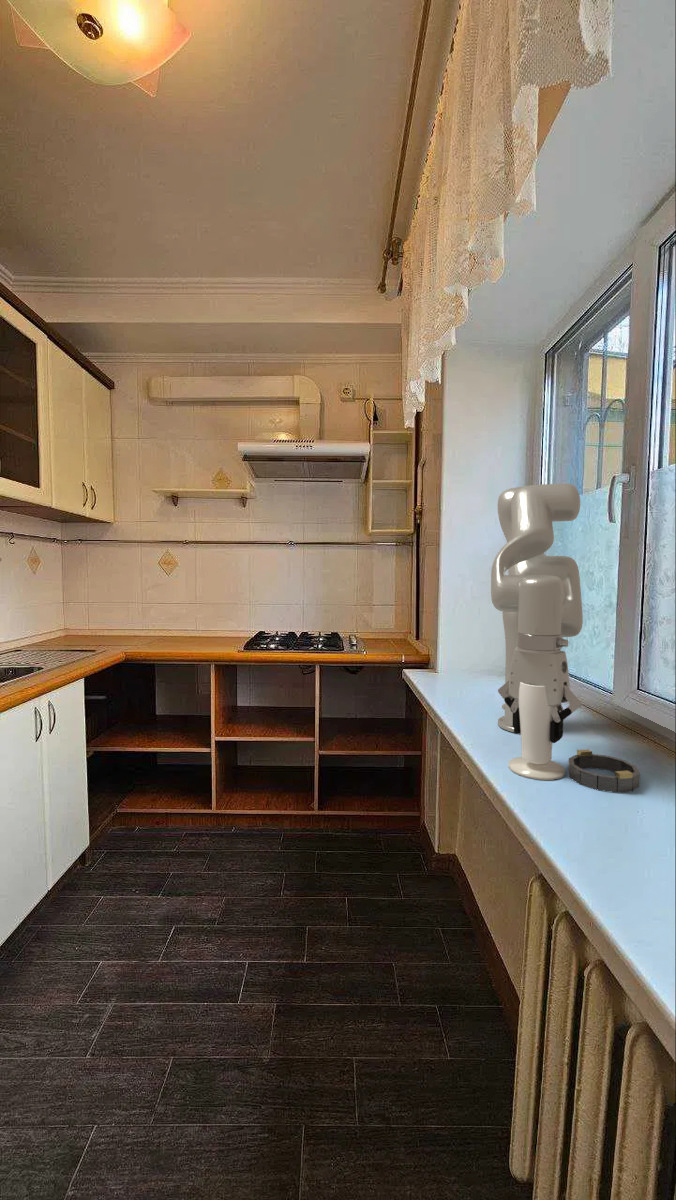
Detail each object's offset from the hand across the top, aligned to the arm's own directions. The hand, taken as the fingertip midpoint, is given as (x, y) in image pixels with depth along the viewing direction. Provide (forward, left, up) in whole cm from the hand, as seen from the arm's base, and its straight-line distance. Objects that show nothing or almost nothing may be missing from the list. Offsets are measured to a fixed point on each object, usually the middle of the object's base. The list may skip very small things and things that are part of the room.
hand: (536, 735), depth 96 cm
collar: (+6, +9, -7) cm, 13 cm away
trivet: (0, 0, -7) cm, 7 cm away
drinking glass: (0, 0, -5) cm, 5 cm away
